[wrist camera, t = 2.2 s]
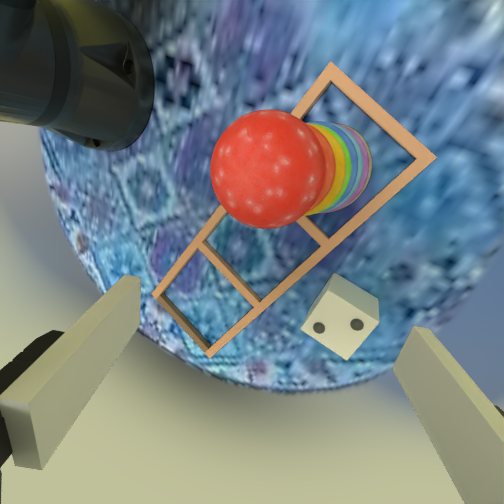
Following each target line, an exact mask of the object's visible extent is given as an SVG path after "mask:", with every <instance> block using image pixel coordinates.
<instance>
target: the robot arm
mask: <svg viewBox="0 0 504 504" xmlns="http://www.w3.org/2000/svg"><path fill="white" fill-rule="evenodd" d="M153 95H154V78H153V69H152V64H151V60H150V56H149V53H148V50H147V47H146V45H145V43H144V41H143V39H142V37H141V35H140V33H139V32H138V31H137V29H136V28H135V27H134V25H133V24H132V23H131V22H130V21H129V20H128V19H127V18H125V17H124V16H123V15H121V14H119V13H118V12H116V11H115V10H113V9H111V8H110V7H108V6H107V5H105V4H102V3H100V2H98V1H95V0H0V121H2V122H10V123H18V124H25V125H32V126H39V127H43V128H45V129H47V130H49V131H51V132H54V133H56V134H58V135H60V136H62V137H65V138H67V139H69V140H71V141H73V142H76V143H78V144H80V145H82V146H84V147H87V148H91V149H96V150H107V151H115V150H120V149H123V148H125V147H127V146H129V145H130V144H132V143H133V142H134V141H135V140H136V139H137V138H138V137H139V135H140V134H141V132H142V131H143V129H144V127H145V125H146V123H147V121H148V118H149V115H150V112H151V108H152V103H153ZM140 298H141V277H136V276H130V275H124V276H123V277H122V278H120V279H119V280H118V281H117V282H116V283H115V284H114V285H113V286H112V287H111V288H110V289H109V290H108V291H107V292H106V293H105V294H104V295H103V296H102V297H101V298H100V299H99V300H98V301H97V302H96V303H95V304H94V305H93V306H92V307H91V308H90V309H89V310H88V311H87V312H85V313H84V314H83V316H81V317H80V318H79V319H78V320H77V321H76V322H75V323H74V324H73V325H72V326H71V327H70V328H69V329H68V330H67V331H66V332H61V331H56V330H52V331H50V332H48V333H46V334H44V335H42V336H40V337H38V338H37V339H35V340H34V341H33V342H32V343H31V344H30V345H28V346H27V347H26V348H25V349H24V351H23V352H20V353H19V354H18V355H17V356H16V357H15V358H14V359H13V361H12V362H9V363H8V364H7V365H6V366H4V367H3V368H2V369H1V370H0V467H1V466H2V465H3V464H4V462H5V461H6V460H7V459H8V458H9V456H10V455H11V454H12V456H13V460H14V463H15V466H19V467H25V468H31V469H38V470H42V469H43V468H44V466H45V465H46V463H47V462H48V460H49V459H50V457H51V456H52V454H53V453H54V451H55V450H56V449H57V447H58V445H59V444H60V443H61V441H62V440H63V438H64V437H65V435H66V434H67V432H68V431H69V429H70V428H71V426H72V425H73V423H74V422H75V420H76V419H77V417H78V416H79V414H80V413H81V411H82V410H83V408H84V407H85V406H86V404H87V403H88V401H89V400H90V398H91V396H92V395H93V394H94V392H95V391H96V389H97V388H98V386H99V385H100V383H101V382H102V380H103V379H104V377H105V376H106V374H107V373H108V371H109V370H110V368H111V367H112V365H113V364H114V362H115V361H116V360H117V358H118V356H119V355H120V354H121V352H122V351H123V349H124V348H125V346H126V345H127V343H128V342H129V340H130V339H131V337H132V336H133V334H134V333H135V331H136V330H137V328H138V327H139V325H140ZM392 369H393V371H394V373H395V375H396V377H397V379H398V380H399V382H400V384H401V386H402V388H403V389H404V392H405V393H406V395H407V397H408V399H409V401H410V403H411V405H412V406H413V408H414V410H415V412H416V414H417V416H418V417H419V419H420V421H421V423H422V425H423V427H424V429H425V431H426V432H427V434H428V436H429V438H430V440H431V442H432V444H433V446H434V447H435V449H436V451H437V453H438V455H439V457H440V458H441V460H442V462H443V464H444V466H445V468H446V470H447V472H448V473H449V475H450V477H451V479H452V481H453V483H454V485H455V487H456V488H457V490H458V492H459V494H460V496H461V497H462V500H463V501H464V503H465V504H504V412H503V411H502V410H501V409H500V408H499V407H497V406H495V405H493V404H492V403H491V402H490V401H489V399H488V398H487V397H486V396H485V395H484V393H483V392H482V391H481V390H480V389H479V388H478V386H477V385H476V384H475V383H474V382H473V380H472V379H471V378H470V377H469V376H468V375H467V373H466V372H465V371H464V370H463V368H462V367H461V366H460V365H459V364H458V363H457V361H456V360H455V359H454V358H453V357H452V355H451V354H450V353H449V352H448V351H447V349H446V348H445V347H444V346H443V345H442V343H441V342H440V341H439V340H438V339H437V338H436V336H435V335H434V334H433V333H432V332H431V330H430V329H428V328H423V327H417V326H413V328H412V330H411V332H410V334H409V336H408V338H407V340H406V342H405V344H404V346H403V348H402V350H401V352H400V354H399V356H398V358H397V360H396V362H395V364H394V366H393V368H392ZM1 475H2V473H1V470H0V504H1Z"/></svg>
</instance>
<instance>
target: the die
mask: <svg viewBox="0 0 504 504" xmlns="http://www.w3.org/2000/svg"><path fill="white" fill-rule="evenodd" d="M378 323H379V304H378V298H376V297H374V296H373V295H371V294H369V293H368V292H366V291H364V290H363V289H361V288H359V287H358V286H356V285H355V284H353V283H351V282H350V281H348V280H346V279H345V278H343V277H341V276H340V275H338V274H336V273H335V272H334V273H333V275H332V276H331V278H330V279H329V281H328V282H327V283H326V285H325V286H324V288H323V289H322V291H321V292H320V294H319V295H318V297H317V298H316V300H315V301H314V303H313V304H312V305H311V307H310V309H309V311H308V313H307V316H306V318H305V320H304V322H303V325H302V327H301V330H302V331H304V332H305V333H307V334H308V335H310V336H311V337H313V338H314V339H316V340H317V341H319V342H320V343H322V344H323V345H325V346H326V347H328V348H329V349H331V350H332V351H334V352H335V353H336V354H338V355H339V356H341V357H342V358H344V359H345V360H348V359H349V358H350V356H351V355H352V354H353V353H354V352H355V351H356V349H357V348H358V347H359V346H360V345H361V343H362V342H363V341H364V340H365V339H366V338H367V336H368V335H369V334H370V333H371V332H372V330H373V329H374V328H375V327H376V326H377V325H378Z"/></svg>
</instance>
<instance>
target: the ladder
mask: <svg viewBox="0 0 504 504" xmlns="http://www.w3.org/2000/svg"><path fill="white" fill-rule="evenodd" d="M331 83H333V84H334V85H335V86H336V87H337V88H338V89H339V90H340V91H341V92H342V93H344V94H345V95H346V96H347V97H348V98H349V99H350V100H351V101H352V102H353V103H355V104H356V105H357V106H358V107H359V108H360V109H361V110H362V111H363V112H364V113H365V114H367V115H368V116H369V117H370V118H371V119H372V120H373V121H374V122H375V123H376V124H378V125H379V126H380V127H381V128H382V129H383V130H384V131H385V132H386V133H387V134H388V135H390V136H391V137H392V138H393V139H394V140H395V141H396V142H397V143H398V144H399V145H401V146H402V147H403V148H404V149H405V150H406V151H407V152H408V153H409V154H410V155H411V156H413V157H414V158H415V160H414V161H413V162H412V163H411V164H410V165H409V166H408V167H407V168H406V169H404V170H403V171H402V172H401V173H400V174H399V175H398V176H397V177H396V178H395V179H394V180H392V181H391V182H390V183H389V184H388V185H387V186H386V187H385V188H384V189H383V190H382V191H380V192H379V193H378V194H377V195H376V196H375V197H374V198H373V199H372V200H371V201H369V202H368V203H367V204H366V205H365V206H364V207H363V208H362V209H361V210H360V211H359V212H357V213H356V214H355V215H354V216H353V217H352V218H351V219H350V220H349V221H348V222H347V223H345V224H344V225H343V226H342V227H341V228H340V229H339V230H338V231H337V232H336V233H335V234H333V235H332V236H331V237H330V238H329V237H328V236H327V235H326V234H325V233H324V232H323V231H322V230H321V229H320V228H319V227H318V226H317V225H316V224H315V223H314V222H313V221H312V220H311V219H310V218H309V217H308V216H302V217H301V218H299V219H298V220H296V222H297V223H298V224H299V225H300V226H301V227H302V228H303V229H304V230H305V231H306V232H307V233H308V234H309V235H310V236H311V237H312V238H313V239H314V240H315V241H316V242H317V243H318V244H319V245H320V247H319V248H318V249H317V250H316V251H315V252H314V253H313V254H312V255H310V256H309V257H308V258H307V259H306V260H305V261H304V262H303V263H302V264H301V265H300V266H298V267H297V268H296V269H295V270H294V271H293V272H292V273H291V274H290V275H289V276H288V277H286V278H285V279H284V280H283V281H282V282H281V283H280V284H279V285H278V286H277V287H275V288H274V289H273V290H272V291H271V292H270V293H269V294H268V295H267V296H266V297H265V298H263V299H262V300H261V299H260V297H259V296H258V295H257V294H256V293H255V292H254V291H253V290H252V289H251V288H250V287H249V286H248V285H247V284H246V283H245V282H244V281H243V280H242V279H241V278H240V276H239V275H238V274H237V273H236V272H235V271H234V270H233V269H232V268H231V267H230V266H229V265H228V264H227V263H226V262H225V261H224V260H223V259H222V258H221V256H220V255H219V254H218V253H217V252H216V251H215V250H214V249H213V248H212V247H211V246H210V245H209V244H208V243H207V242H206V241H205V240H206V239H207V238H208V237H209V235H210V234H211V233H212V232H213V230H214V229H215V228H216V227H217V225H218V224H219V223H220V222H221V220H222V219H223V218H224V217H225V215H226V214H227V213H228V212H227V211H226V210H225V209H224V208H223V206H222V205H220V206H219V207H218V208H217V210H216V211H215V212H214V214H213V215H212V216H211V218H210V219H209V220H208V221H207V223H206V224H205V225H204V227H203V228H202V229H201V230H200V232H199V233H198V234H197V236H196V237H195V238H194V240H193V241H192V242H191V243H190V245H189V246H188V247H187V249H186V250H185V251H184V253H183V254H182V255H181V256H180V258H179V259H178V260H177V262H176V263H175V264H174V266H173V267H172V268H171V269H170V271H169V272H168V273H167V275H166V276H165V277H164V279H163V280H162V281H161V282H160V284H159V285H158V286H157V288H156V289H155V290H154V292H153V293H152V295H153V296H154V297H155V298H156V300H157V301H158V302H159V303H160V304H161V305H162V306H163V307H164V308H165V309H166V311H167V312H168V313H169V314H170V315H171V316H172V317H173V318H174V319H175V321H176V322H177V323H178V324H179V325H180V326H181V327H182V328H183V329H184V331H185V332H186V333H187V334H188V335H189V336H190V337H191V338H192V339H193V341H194V342H195V343H196V344H197V345H198V346H199V347H200V348H201V349H202V350H203V352H204V353H205V354H206V355H207V356H208V357H209V358H211V357H212V356H213V355H214V354H215V353H216V352H217V351H218V350H220V349H221V348H222V347H223V346H224V345H225V344H226V343H228V342H229V341H230V340H231V339H232V338H233V337H234V336H235V335H237V334H238V333H239V332H240V331H241V330H242V329H243V328H244V327H246V326H247V325H248V324H249V323H250V322H251V321H252V320H254V319H255V318H256V317H257V316H258V315H259V314H260V313H261V312H263V311H264V310H265V309H266V308H267V307H268V306H269V305H271V304H272V303H273V302H274V301H275V300H276V299H277V298H278V297H280V296H281V295H282V294H283V293H284V292H285V291H286V290H287V289H289V288H290V287H291V286H292V285H293V284H294V283H295V282H297V281H298V280H299V279H300V278H301V277H302V276H303V275H304V274H306V273H307V272H308V271H309V270H310V269H311V268H312V267H314V266H315V265H316V264H317V263H318V262H319V261H320V260H321V259H323V258H324V257H325V256H326V255H327V254H328V253H329V252H331V251H332V250H333V249H334V248H335V247H336V246H337V245H338V244H340V243H341V242H342V241H343V240H344V239H345V238H346V237H347V236H349V235H350V234H351V233H352V232H353V231H354V230H355V229H357V228H358V227H359V226H360V225H361V224H362V223H363V222H364V221H366V220H367V219H368V218H369V217H370V216H371V215H372V214H374V213H375V212H376V211H377V210H378V209H379V208H380V207H381V206H383V205H384V204H385V203H386V202H387V201H388V200H389V199H390V198H392V197H393V196H394V195H395V194H396V193H397V192H398V191H400V190H401V189H402V188H403V187H404V186H405V185H406V184H407V183H409V182H410V181H411V180H412V179H413V178H414V177H415V176H417V175H418V174H419V173H420V172H421V171H422V170H423V169H424V168H426V167H427V166H428V165H429V164H430V163H431V162H432V161H434V160H435V159H436V158H437V157H436V156H435V155H434V154H433V153H432V152H430V151H429V150H428V149H427V148H426V147H425V146H424V145H423V144H422V143H421V142H419V141H418V140H417V139H416V138H415V137H414V136H413V135H412V134H411V133H409V132H408V131H407V130H406V129H405V128H404V127H403V126H402V125H401V124H399V123H398V122H397V121H396V120H395V119H394V118H393V117H392V116H391V115H390V114H388V113H387V112H386V111H385V110H384V109H383V108H382V107H381V106H380V105H378V104H377V103H376V102H375V101H374V100H373V99H372V98H371V97H370V96H369V95H367V94H366V93H365V92H364V91H363V90H362V89H361V88H360V87H359V86H357V85H356V84H355V83H354V82H353V81H352V80H351V79H350V78H349V77H347V76H346V75H345V74H344V73H343V72H342V71H341V70H340V69H339V68H338V67H336V66H335V65H334V64H333V63H332V62H330V63H329V64H328V66H327V67H326V68H325V69H324V71H323V72H322V73H321V75H320V76H319V77H318V79H317V80H316V81H315V82H314V84H313V85H312V86H311V88H310V89H309V90H308V92H307V93H306V94H305V95H304V97H303V98H302V99H301V101H300V102H299V103H298V105H297V106H296V107H295V108H294V110H293V111H292V112H291V115H293V116H295V117H297V118H299V119H300V120H302V119H303V118H304V117H305V115H306V114H307V113H308V112H309V110H310V109H311V108H312V107H313V105H314V104H315V103H316V102H317V100H318V99H319V98H320V97H321V95H322V94H323V93H324V92H325V90H326V89H327V88H328V87H329V85H330V84H331ZM198 249H199V250H200V251H201V252H202V253H203V254H204V255H205V256H206V257H207V258H208V259H209V260H210V261H211V262H212V263H213V264H214V265H215V267H216V268H217V269H218V270H219V271H220V272H221V273H222V274H223V275H224V276H225V277H226V278H227V279H228V280H229V281H230V282H231V283H232V285H233V286H234V287H235V288H236V289H237V290H238V291H239V292H240V293H241V294H242V295H243V296H244V297H245V298H246V299H247V300H248V301H249V303H250V304H251V305H252V306H253V307H254V308H253V309H251V310H250V311H249V312H248V313H247V314H246V315H245V316H244V317H243V318H242V319H241V320H239V321H238V322H237V323H236V324H235V325H234V326H233V327H232V328H231V329H230V330H228V331H227V332H226V333H225V334H224V335H223V336H222V337H221V338H220V339H219V340H218V341H216V342H215V343H214V344H213V345H212V346H211V345H210V344H209V342H208V341H207V340H206V339H205V338H204V337H203V336H202V335H201V334H200V333H199V331H198V330H197V329H196V328H195V327H194V326H193V325H192V324H191V323H190V322H189V320H188V319H187V318H186V317H185V316H184V315H183V314H182V313H181V312H180V311H179V309H178V308H177V307H176V306H175V305H174V304H173V303H172V302H171V301H170V300H169V298H168V297H167V296H166V295H165V294H164V292H165V290H166V289H167V288H168V287H169V285H170V284H171V283H172V282H173V280H174V279H175V278H176V277H177V275H178V274H179V273H180V272H181V270H182V269H183V268H184V267H185V265H186V264H187V263H188V262H189V260H190V259H191V258H192V257H193V255H194V254H195V253H196V252H197V250H198Z"/></svg>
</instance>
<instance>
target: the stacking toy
mask: <svg viewBox="0 0 504 504" xmlns="http://www.w3.org/2000/svg"><path fill="white" fill-rule="evenodd" d="M210 169H211V181H212V185H213V189H214V192H215V194H216V196H217V198H218V200H219V202H220V203H221V205H222V206H223V208H224V209H225V210H226V211H227V212H228V213H229V214H230V215H231V216H232V217H234V218H235V219H236V220H238V221H239V222H241V223H243V224H246V225H248V226H251V227H256V228H261V229H272V228H279V227H283V226H286V225H288V224H291V223H293V222H295V221H296V220H298V219H299V218H301V217H302V216H308V215H312V214H317V213H329V212H334V211H337V210H340V209H342V208H345V207H346V206H348V205H350V204H351V203H353V202H354V201H355V200H356V199H357V198H358V197H359V196H360V195H361V194H362V192H363V191H364V189H365V188H366V186H367V184H368V182H369V179H370V176H371V171H372V158H371V153H370V150H369V147H368V145H367V143H366V142H365V140H364V139H363V137H362V136H361V135H360V134H359V133H358V132H356V131H355V130H354V129H352V128H350V127H348V126H346V125H342V124H337V123H329V122H319V121H315V122H307V123H304V122H303V121H302V120H300V119H299V118H297V117H295V116H293V115H291V114H289V113H287V112H283V111H280V110H260V111H255V112H251V113H248V114H245V115H243V116H242V117H240V118H238V119H237V120H236V121H234V122H233V123H232V124H231V125H230V126H229V127H228V128H227V129H226V130H225V131H224V132H223V133H222V135H221V136H220V138H219V140H218V142H217V143H216V146H215V148H214V151H213V154H212V159H211V168H210Z"/></svg>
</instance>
